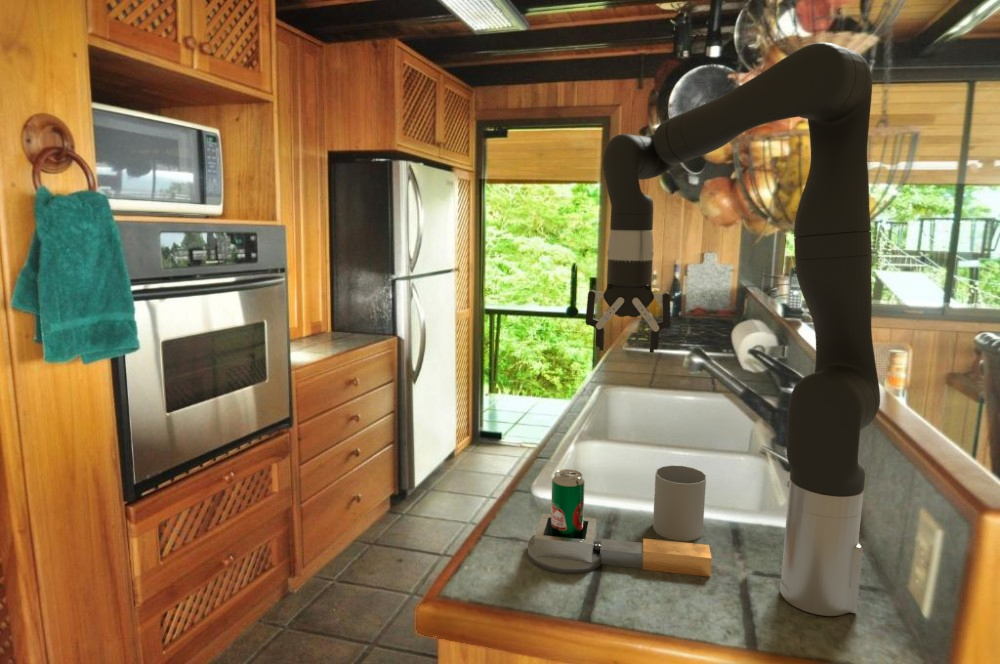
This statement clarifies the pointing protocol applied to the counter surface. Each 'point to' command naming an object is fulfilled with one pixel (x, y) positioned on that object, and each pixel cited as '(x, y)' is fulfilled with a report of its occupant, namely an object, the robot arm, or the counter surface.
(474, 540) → the counter surface
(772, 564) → the counter surface
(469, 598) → the counter surface
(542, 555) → the ratchet
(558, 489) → the soda can
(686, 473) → the cup
